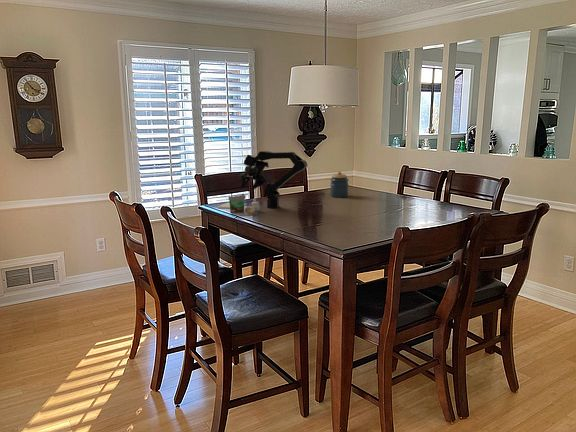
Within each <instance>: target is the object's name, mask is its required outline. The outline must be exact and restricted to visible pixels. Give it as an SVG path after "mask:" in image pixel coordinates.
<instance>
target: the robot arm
mask: <svg viewBox="0 0 576 432" xmlns="http://www.w3.org/2000/svg"><path fill="white" fill-rule="evenodd" d="M273 159H281V160H283V159H289V160H290V162H291V163H292V164H293V166H292V167H291V169H289V171H287V172H286V173H285V174H284V175H282V177H279V179H278V180H276V181H275V182H274V181H272V182H270V183H268V184H267V182H268V180H267V179H266V177H265V176H264V174H263V171H264V169H265V168H269V166H270V165H269V162H268V161H267V160H273ZM243 164H244V166H245V167H244V172H246V173H243V172H242V173H240V174H239V178H240V179H241V183H240V190H243V189H244V188H245V187H246V186H247V185H248V183H249V182H250V181H251V180H253V181H254V183H253V185H252V187H251V190H252V191H254V190H256V189H257V188H259V187H261V186H262V185H266V184H267V185H266V186H265V188H264V191H263V192H264V194H265V196H266V197H267V198H266V199H267V202H266V203H267V204H266V208H267V209H278V208H280V207H281V206H280V195H281V194H280V192H279V189H280V187H282V186H283V185H284V184H285V183H286V182H288V181H289V180H290V179H291V178H293V177H294V176H295V175H296V174H298V173H300V172H302V171H303V170H305V169H307V167H308V163H307V161H306V160H305V159H303V158H301V157H300V156H299V155H298V154H296V152H294V151H290V152H289V151H287V152H285V151H284V152H278V151H277V152H273V151H270V150H269V151H268V150H262V151H259V152H258V153H257V155H256V156H252V155H250V154H247V155H246V156H245V158H244V161H243Z"/></svg>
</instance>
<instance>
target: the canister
mask: <svg viewBox="0 0 576 432" xmlns="http://www.w3.org/2000/svg"><path fill="white" fill-rule="evenodd" d="M329 186H330V194H329V195H330V197H331V196H332V197H333V198H347V197H349V178H348V175H346V174H344V173H342V172H341V171H337V173H335V174H333V175H332V176H331V178H330V185H329Z"/></svg>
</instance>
